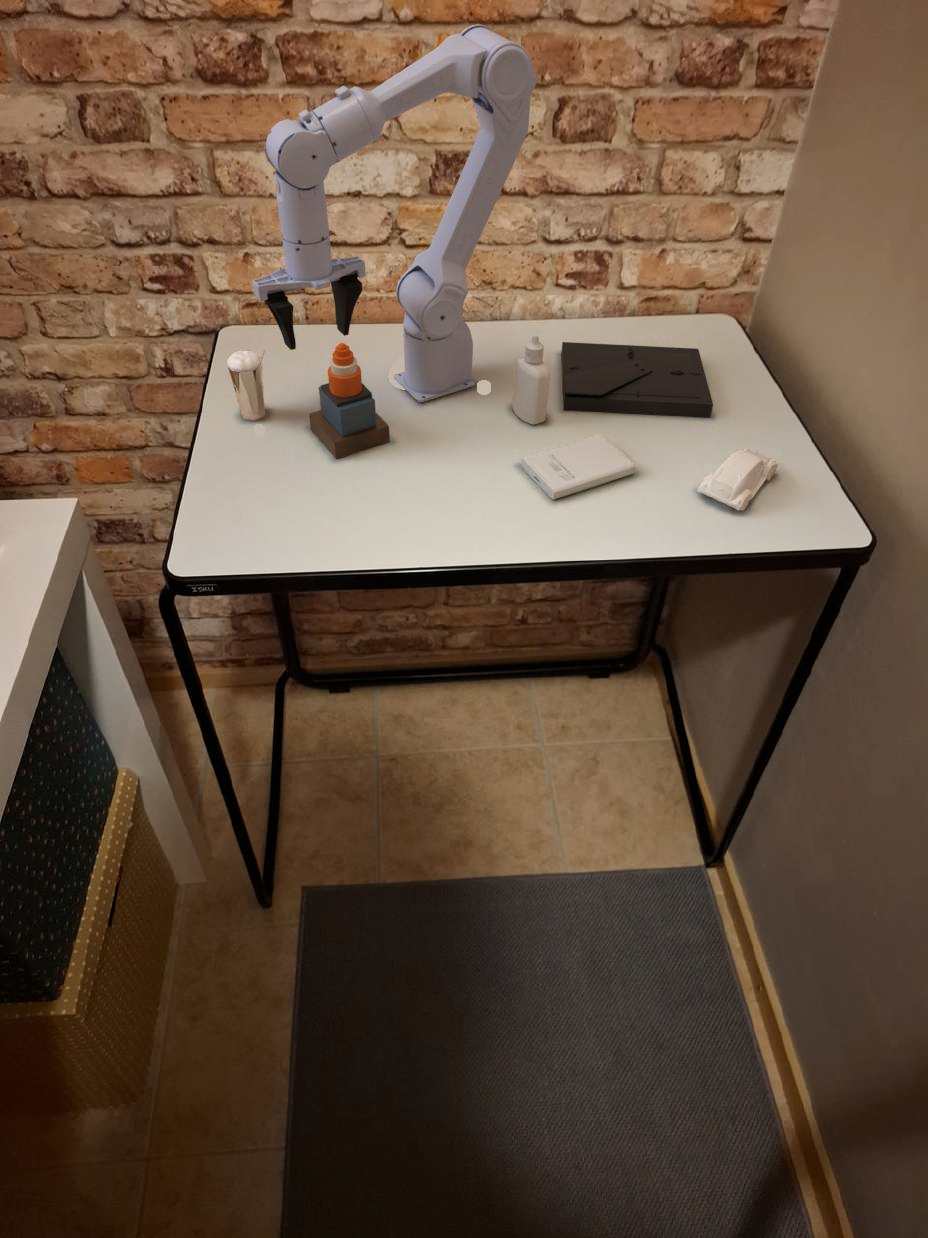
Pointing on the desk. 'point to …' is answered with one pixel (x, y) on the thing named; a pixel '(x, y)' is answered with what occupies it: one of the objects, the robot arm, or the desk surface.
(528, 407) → the eye dropper bottle
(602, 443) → the hard drive
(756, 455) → the car
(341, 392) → the cone
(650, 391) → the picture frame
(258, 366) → the milkshake
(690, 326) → the desk surface
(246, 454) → the desk surface
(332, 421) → the blue block
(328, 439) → the base block
